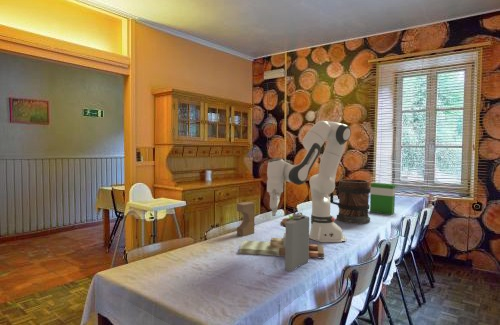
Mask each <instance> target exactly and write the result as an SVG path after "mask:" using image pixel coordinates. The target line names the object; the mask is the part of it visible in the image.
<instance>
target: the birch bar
mask: <svg viewBox="0 0 500 325" xmlns="http://www.w3.org/2000/svg"><path fill="white" fill-rule="evenodd" d="M269 242H270V247H272V248H283V238H282V237H271V238H270V241H269Z"/></svg>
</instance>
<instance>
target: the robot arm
mask: <svg viewBox="0 0 500 325" xmlns="http://www.w3.org/2000/svg"><path fill="white" fill-rule="evenodd" d="M351 135H352V130H351V127H350V126H349V125H347V124H346V123H345V124H344V123H340V122H337V121H328V120H319V121H317V122H316V123H315V124H313V126H312V127H311V128H310V129H309V130H308V131H307V132H306V133H305V135H304V136H303V139H302V146H303V148H304V149H305V150H306V153H305V155H304V157H303V159H302V160H301V162H300V163H298V164H290V163H289V162H286V161H285V160H283V158H280V157H278V158H276V157H275V158H272V159H270V160H268V163H267V168H266V171H267V172H266V175H267V181H266V192H267V193H268V195H269V209H270V210H271V216H272V217H276V214H277V212H278V206H279V203H280V201H281V195H282V193H284V182H288V183H290V184H294V185H298V186H301V185H303V184H305V183H306V182H307V180H308V178H309V176H310V172H311V169H312V168H313V166H314V164H315V162H316V161H317V159H318V158H319V156H320V153H321V151H322V150H321V149H322V146H323V145H324V144H325V142H326V141H327V143H326V146H325V148H324V150H323V153H322V156H321V158H320V161H319V169H318V173H317V174H314V175H312V176H311V177H310V178H309V188H310V196H311V215H310V224H311V225H310V229H309V240H310V239H311V240H313V241H316V242H319V243H343V242H342V241H345V242H346V241H347V236H346V235H344V233H343V230H342V228H341V226H340V225H339V224H337V223H336V222H335V221H336V219H335V217H334V216H332V215H331V203H330V196H329V195H330V194H331V193H332V192H333V193H334V191H335V190H334V189H335V187H336V177H337V172H338V168H339V165H340V162H341V160H342V157H343V155H344V150H345V146H346V142H348V141H349V139H350V137H351Z"/></svg>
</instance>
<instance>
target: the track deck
mask: <svg viewBox="0 0 500 325" xmlns="http://www.w3.org/2000/svg"><path fill="white" fill-rule="evenodd" d="M239 254H247V255H249V254H250V255H264V256H278V257H281V256H282V257H285V249H283V248H272V247H270V241H258V240H256V241H255V240H243V241H242V244H241V245H240V247H239ZM310 257H324V258H325V251H324V245H323V244H314V243H313V244H312V243H311V244H310V243H309V258H310Z"/></svg>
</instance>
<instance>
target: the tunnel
mask: <svg viewBox="0 0 500 325" xmlns="http://www.w3.org/2000/svg"><path fill="white" fill-rule="evenodd" d="M285 241H286V232H284V233H283V249H285Z"/></svg>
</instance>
